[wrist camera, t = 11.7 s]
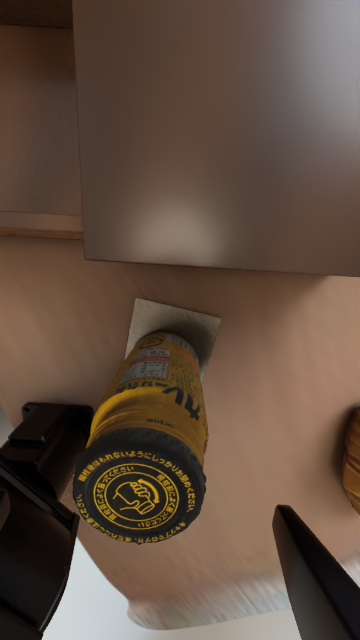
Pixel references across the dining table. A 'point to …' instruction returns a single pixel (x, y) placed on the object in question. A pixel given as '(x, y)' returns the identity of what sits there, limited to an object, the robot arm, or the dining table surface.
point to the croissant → (352, 460)
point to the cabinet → (220, 133)
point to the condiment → (150, 430)
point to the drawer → (39, 121)
